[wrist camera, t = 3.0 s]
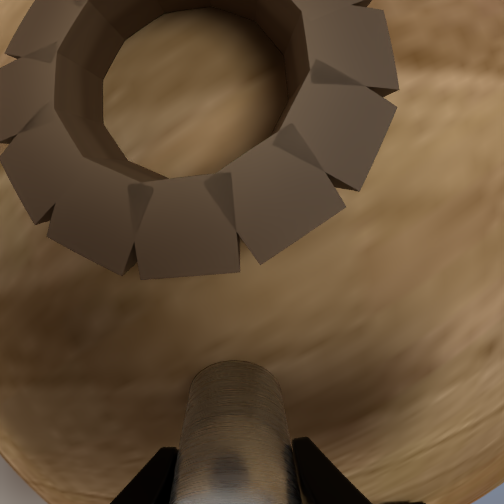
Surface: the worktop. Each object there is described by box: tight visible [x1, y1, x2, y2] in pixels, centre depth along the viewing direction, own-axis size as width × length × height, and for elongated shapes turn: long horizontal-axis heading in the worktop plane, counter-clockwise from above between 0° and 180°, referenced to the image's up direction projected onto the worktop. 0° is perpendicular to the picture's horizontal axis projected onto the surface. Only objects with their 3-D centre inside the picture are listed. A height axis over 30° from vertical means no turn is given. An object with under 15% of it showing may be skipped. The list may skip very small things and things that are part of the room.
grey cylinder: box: [169, 361, 302, 504], centre depth 6 cm, size 3×3×8 cm
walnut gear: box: [0, 0, 399, 280], centre depth 6 cm, size 9×9×3 cm
